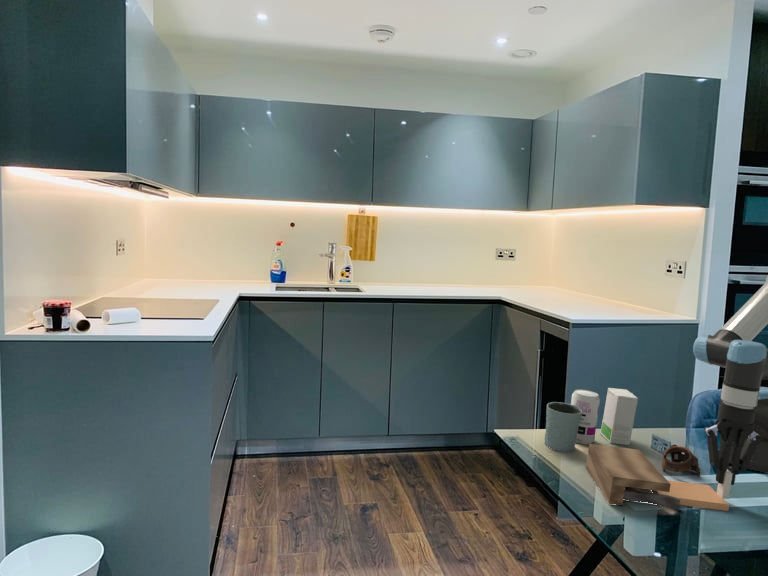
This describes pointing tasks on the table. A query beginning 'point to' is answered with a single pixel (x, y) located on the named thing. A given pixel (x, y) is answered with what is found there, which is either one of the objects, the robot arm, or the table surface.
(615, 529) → the table surface
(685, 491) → the terracotta panel
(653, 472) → the walnut shelf
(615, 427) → the skincare box
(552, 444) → the grey cylindrical pot
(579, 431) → the supplement can
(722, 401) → the robot arm
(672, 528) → the table surface
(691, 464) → the broken clay pot
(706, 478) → the table surface
